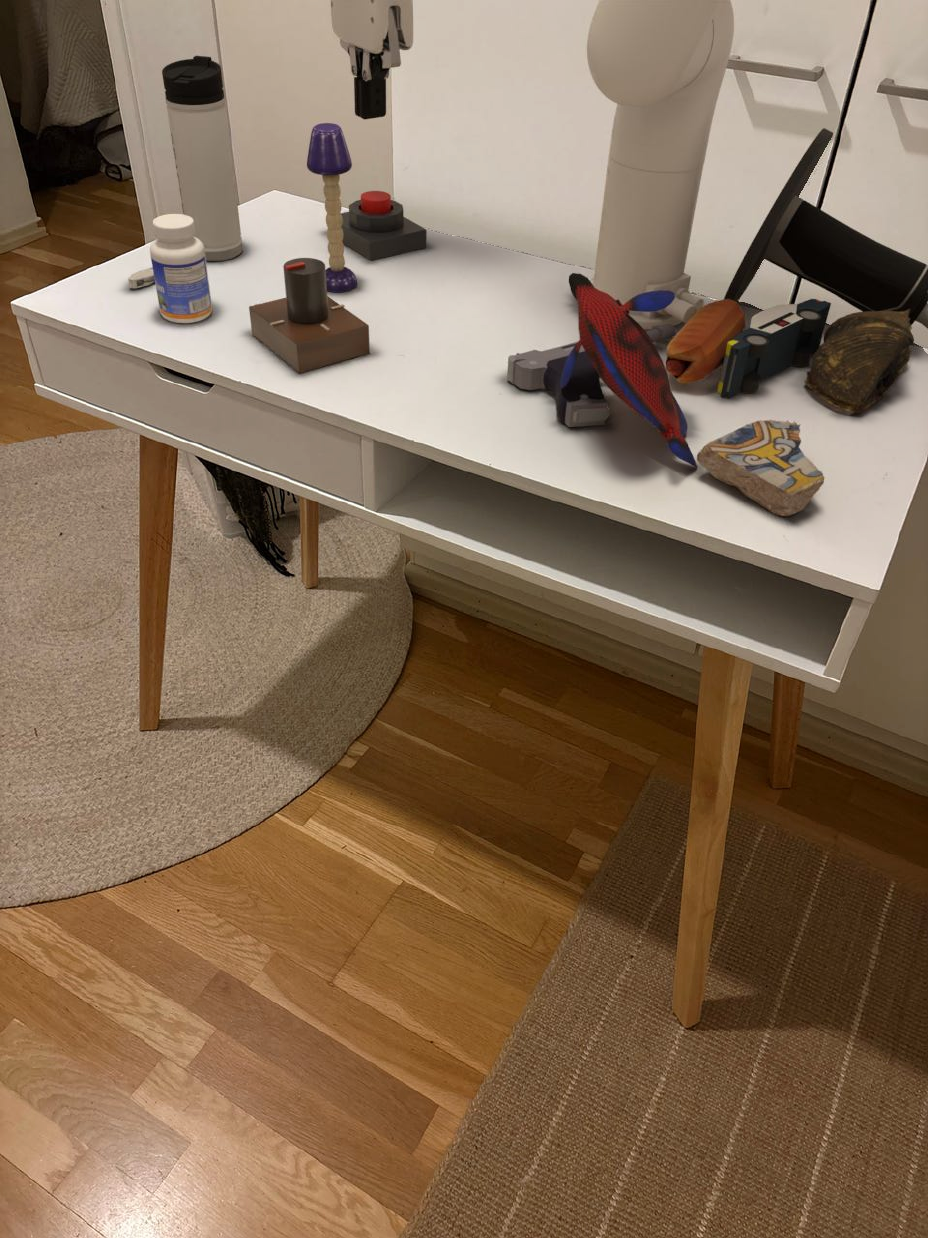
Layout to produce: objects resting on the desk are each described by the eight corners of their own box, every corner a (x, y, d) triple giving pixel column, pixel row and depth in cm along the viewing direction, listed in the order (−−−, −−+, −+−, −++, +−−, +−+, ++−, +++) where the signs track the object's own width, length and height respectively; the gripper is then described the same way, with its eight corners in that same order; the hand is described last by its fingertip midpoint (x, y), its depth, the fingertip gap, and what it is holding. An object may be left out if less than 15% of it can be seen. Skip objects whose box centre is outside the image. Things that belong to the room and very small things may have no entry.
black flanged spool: (715, 323, 115) (910, 430, 112) (731, 273, 96) (965, 400, 93) (806, 174, 113) (1007, 279, 110) (840, 92, 94) (1084, 216, 91)
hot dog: (720, 384, 93) (673, 398, 96) (760, 330, 102) (715, 345, 105) (700, 335, 91) (653, 352, 94) (743, 285, 100) (698, 301, 103)
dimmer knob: (315, 303, 101) (312, 251, 98) (335, 317, 99) (332, 265, 95) (280, 312, 99) (275, 259, 96) (300, 327, 97) (295, 273, 93)
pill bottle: (161, 303, 107) (144, 211, 100) (212, 301, 108) (199, 209, 101) (160, 326, 103) (143, 231, 96) (213, 322, 104) (200, 228, 97)
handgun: (744, 360, 95) (663, 312, 103) (578, 410, 87) (503, 353, 95) (738, 384, 97) (659, 335, 105) (575, 435, 89) (501, 378, 97)
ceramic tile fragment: (853, 486, 78) (733, 492, 77) (841, 521, 80) (724, 527, 79) (792, 412, 87) (683, 416, 86) (782, 445, 89) (676, 449, 88)
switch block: (426, 247, 121) (426, 213, 118) (370, 260, 117) (369, 226, 115) (382, 221, 127) (381, 189, 124) (328, 233, 123) (326, 200, 121)
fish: (607, 205, 81) (680, 270, 93) (494, 303, 87) (577, 353, 99) (715, 395, 75) (780, 439, 87) (585, 487, 80) (662, 516, 93)
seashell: (886, 423, 92) (897, 350, 88) (788, 409, 96) (795, 339, 92) (927, 356, 102) (938, 288, 98) (838, 346, 107) (845, 281, 103)
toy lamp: (354, 295, 110) (347, 133, 99) (312, 293, 110) (301, 131, 99) (359, 277, 114) (352, 119, 103) (318, 276, 114) (307, 117, 103)
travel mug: (252, 243, 120) (231, 57, 107) (230, 264, 115) (205, 72, 102) (203, 237, 121) (177, 52, 108) (180, 258, 116) (149, 66, 103)
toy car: (735, 403, 94) (693, 383, 97) (829, 354, 103) (788, 337, 105) (746, 353, 91) (702, 334, 94) (842, 307, 99) (799, 291, 102)
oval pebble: (159, 271, 114) (158, 261, 113) (176, 275, 113) (174, 265, 112) (121, 286, 109) (120, 275, 109) (138, 290, 109) (137, 280, 108)
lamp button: (396, 212, 120) (396, 197, 118) (371, 217, 118) (370, 202, 117) (380, 203, 122) (380, 188, 121) (355, 208, 120) (354, 193, 119)
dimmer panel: (370, 352, 100) (369, 323, 98) (298, 373, 96) (295, 343, 94) (321, 316, 106) (319, 287, 104) (250, 334, 102) (247, 304, 100)
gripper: (440, -70, 98) (435, 129, 110) (360, -92, 107) (364, 95, 119) (375, -67, 95) (377, 139, 107) (298, -90, 103) (309, 103, 116)
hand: (370, 115), depth 113 cm, fingers closed
